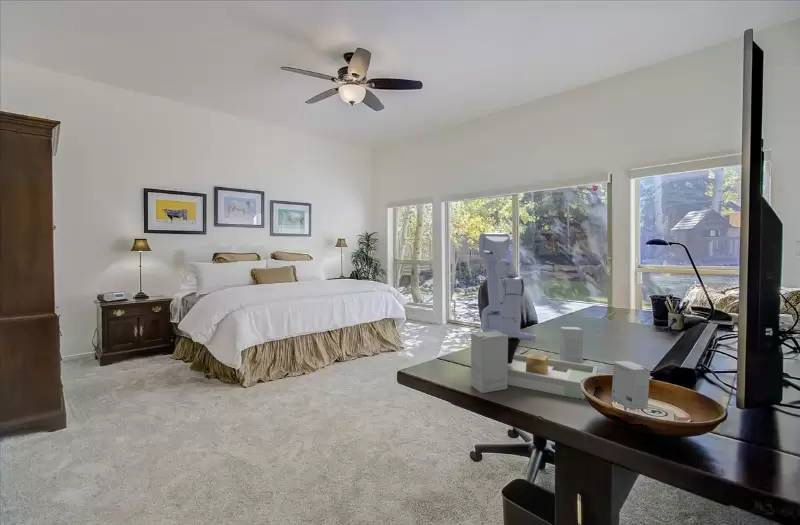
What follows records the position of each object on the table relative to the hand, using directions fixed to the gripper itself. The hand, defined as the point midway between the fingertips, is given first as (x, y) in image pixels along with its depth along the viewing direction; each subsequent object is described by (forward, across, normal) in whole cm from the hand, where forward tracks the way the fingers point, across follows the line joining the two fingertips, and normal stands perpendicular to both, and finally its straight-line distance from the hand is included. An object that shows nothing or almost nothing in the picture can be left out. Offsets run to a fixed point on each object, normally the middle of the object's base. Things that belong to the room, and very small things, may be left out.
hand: (509, 362), depth 110 cm
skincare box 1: (+4, -2, -14) cm, 15 cm away
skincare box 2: (+4, +14, +22) cm, 26 cm away
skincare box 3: (+4, +30, -16) cm, 34 cm away
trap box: (+3, +11, 0) cm, 11 cm away
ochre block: (+1, +8, 0) cm, 8 cm away
